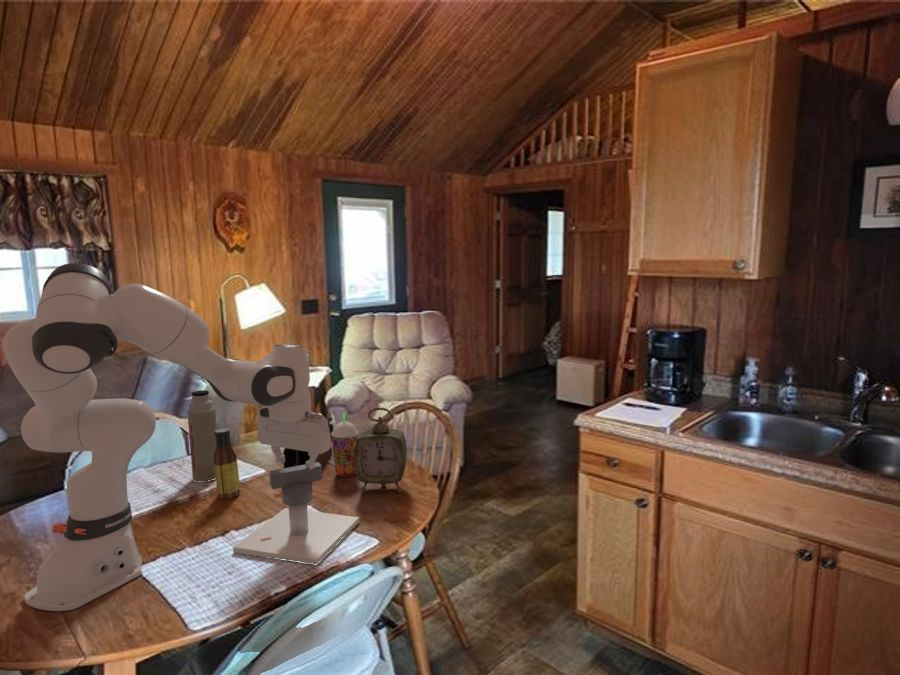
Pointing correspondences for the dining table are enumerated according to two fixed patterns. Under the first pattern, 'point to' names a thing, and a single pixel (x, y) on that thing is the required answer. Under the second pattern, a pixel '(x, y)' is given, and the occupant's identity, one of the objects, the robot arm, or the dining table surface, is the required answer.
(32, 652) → the dining table surface
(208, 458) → the thermos bottle
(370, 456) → the tabletop clock
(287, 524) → the base
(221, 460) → the sauce bottle
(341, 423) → the smoothie
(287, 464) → the letter holder
